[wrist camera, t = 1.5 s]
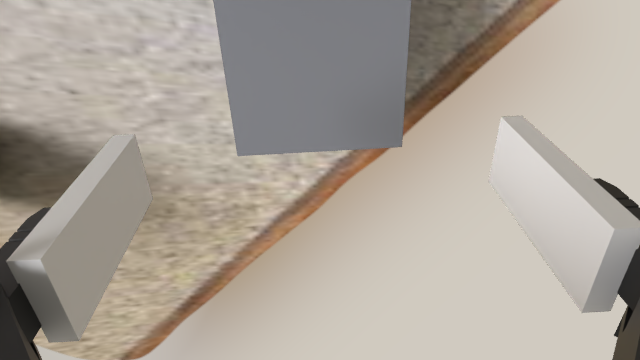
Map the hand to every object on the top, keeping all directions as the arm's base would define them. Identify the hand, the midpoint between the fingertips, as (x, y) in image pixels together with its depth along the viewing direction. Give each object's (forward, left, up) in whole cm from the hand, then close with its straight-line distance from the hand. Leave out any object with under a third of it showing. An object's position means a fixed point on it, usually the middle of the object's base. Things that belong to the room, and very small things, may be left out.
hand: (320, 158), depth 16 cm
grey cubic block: (0, 0, -19) cm, 19 cm away
